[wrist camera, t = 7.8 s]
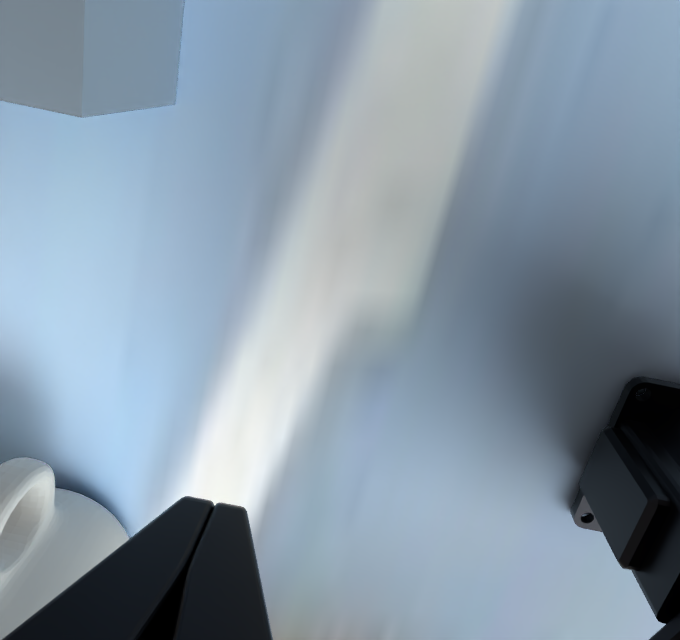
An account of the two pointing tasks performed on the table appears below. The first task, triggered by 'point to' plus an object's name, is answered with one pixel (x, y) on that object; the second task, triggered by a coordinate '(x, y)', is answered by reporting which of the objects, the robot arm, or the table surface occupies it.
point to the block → (90, 54)
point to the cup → (46, 539)
